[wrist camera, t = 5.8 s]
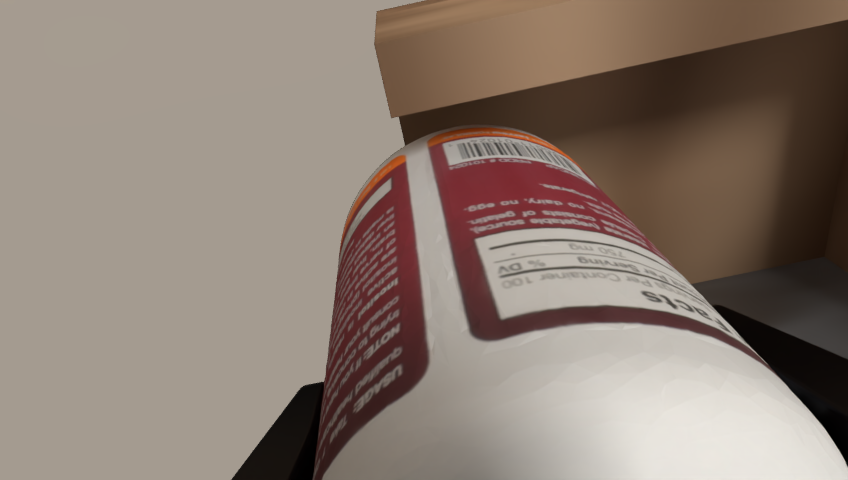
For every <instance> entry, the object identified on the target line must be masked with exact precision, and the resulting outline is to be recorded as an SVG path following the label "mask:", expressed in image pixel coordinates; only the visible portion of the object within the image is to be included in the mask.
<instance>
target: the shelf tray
mask: <svg viewBox="0 0 848 480" xmlns="http://www.w3.org/2000/svg"><path fill="white" fill-rule="evenodd" d="M374 45H375V49H376V53H377V58H378V62H379V66H380V71H381V75H382V80H383V84H384V88H385V93H386V97H387V101H388V106H389V110H390V114H391V118H394V117H399V119H400V124H401V129H402V133H403V138H404V142H405V146H406V145H408V144H410V143H412V142H414V141H415V140H417V139H419V138H422V137H424V136H426V135H429V134H431V133H434V132H437V131H441V130H444V129H448V128H453V127H457V126H464V125H497V126H505V127H510V128H514V129H518V130H522V131H525V132H527V133H530V134H533V135H535V136H537V137H539V138H541V139H543V140H545V141H547V142H549V143H550V144H552V145H553V146H555V147H557V148H558V149H559V150H561V151H562V152H563V153H565V154H566V155H568V156H569V157H570V158H571V159H572V160H573V161H575V162H576V163H577V164H578V165H579V166H580V167H581V168H582V169H583V170H584V171H585V172H586V173H587V175H588V176H589V177H590V178H591V179H592V180H593V181H594V182H595V183H596V184H597V185H598V187H599V188H600V189H601V190H602V191H603V192H604V193H605V194H606V195H607V196H608V197H609V198H610V199H611V200H612V201H613V202H614V203H615V204H616V205H617V206H618V207H619V208H620V209H621V210H622V212H623V213H624V214H625V215H626V216H627V217H628V218H629V219H630V220H631V221H632V223H633V224H634V225H635V226H636V227H637V228H638V229H639V230H640V231H641V232H642V233H643V234H644V235H645V236H646V237H647V239H648V240H649V241H650V242H651V243H652V244H653V245H654V246H655V247H656V248H657V249H658V250H659V251H660V252H661V253H662V254H663V255H664V256H665V257H666V258H667V259H668V261H669V262H670V263H671V264H672V265H673V266H674V267H675V268H676V269H677V270H678V271H679V272H680V273H681V274H682V275H683V276H684V278H685V279H686V280H687V281H688V282H689V283H690V284H691V285H692V286H693V287H694V288H695V290H696V291H698V292H699V293H700V294H701V295H702V296H703V297H704V299H705V300H706V301H707V302H708V303H709V304H710V305H713V304H719V305H722V306H725V307H727V308H730V309H732V310H734V311H737V312H739V313H741V314H744V315H746V316H748V317H751V318H753V319H755V320H758V321H760V322H762V323H765V324H767V325H769V326H772V327H774V328H776V329H779V330H781V331H783V332H786V333H788V334H790V335H793V336H795V337H797V338H800V339H802V340H804V341H807V342H809V343H811V344H814V345H816V346H818V347H821V348H823V349H825V350H828V351H830V352H832V353H835V354H837V355H839V356H842V357H844V358H846V359H848V0H426V1H421V2H416V3H413V4H407V5H403V6H398V7H394V8H390V9H385V10H380V11H377V15H376V30H375V43H374Z"/></svg>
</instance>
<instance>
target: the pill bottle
mask: <svg viewBox="0 0 848 480" xmlns="http://www.w3.org/2000/svg"><path fill="white" fill-rule="evenodd" d="M313 480H848V467H847V465H846V462H845V460H844V458H843V456H842V455H841V453H840V451H839V450H838V448H837V447H836V445H835V443H834V442H833V440H832V439H831V437H830V436H829V434H828V433H827V431H826V430H825V428H824V427H823V426H822V425H821V424H820V422H819V421H818V420H817V419H816V418H815V416H814V415H813V414H812V413H811V412H810V411H809V409H808V408H807V407H806V406H805V405H804V404H803V403H802V402H801V401H800V400H799V399H798V398H797V397H796V396H795V394H794V393H793V392H792V391H791V390H790V389H789V388H788V386H787V385H786V384H785V383H784V382H783V381H782V380H781V379H780V377H779V376H778V375H777V374H776V373H775V372H774V371H773V370H772V369H771V368H770V366H769V365H768V364H767V363H766V362H765V361H764V360H763V359H762V358H761V357H760V356H759V355H758V354H757V353H756V352H755V351H754V350H753V349H752V348H751V347H750V346H749V345H748V344H747V343H746V342H745V341H744V340H743V339H742V338H741V336H740V335H739V334H738V333H737V332H736V331H735V330H734V329H733V328H732V327H731V326H730V325H729V324H728V323H727V322H726V321H725V320H724V319H723V318H722V317H721V316H720V314H719V313H718V312H717V311H716V310H715V309H714V308H713V307H712V306H711V305H710V304H709V303H708V302H707V301H706V300H705V299H704V297H703V296H702V295H701V294H700V293H699V292H698V291H696V290H695V288H694V287H693V286H692V285H691V284H690V283H689V282H688V281H687V280H686V279H685V278H684V276H683V275H682V274H681V273H680V272H679V271H678V270H677V269H676V268H675V267H674V266H673V265H672V264H671V263H670V262H669V261H668V259H667V258H666V257H665V256H664V255H663V254H662V253H661V252H660V251H659V250H658V249H657V248H656V247H655V246H654V245H653V244H652V243H651V242H650V241H649V240H648V239H647V237H646V236H645V235H644V234H643V233H642V232H641V231H640V230H639V229H638V228H637V227H636V226H635V225H634V224H633V223H632V221H631V220H630V219H629V218H628V217H627V216H626V215H625V214H624V213H623V212H622V210H621V209H620V208H619V207H618V206H617V205H616V204H615V203H614V202H613V201H612V200H611V199H610V198H609V197H608V196H607V195H606V194H605V193H604V192H603V191H602V190H601V189H600V188H599V187H598V185H597V184H596V183H595V182H594V181H593V180H592V179H591V178H590V177H589V176H588V175H587V173H586V172H585V171H584V170H583V169H582V168H581V167H580V166H579V165H578V164H577V163H576V162H575V161H573V160H572V159H571V158H570V157H569V156H568V155H566V154H565V153H563V152H562V151H561V150H559V149H558V148H557V147H555V146H553V145H552V144H550V143H549V142H547V141H545V140H543V139H541V138H539V137H537V136H535V135H533V134H530V133H527V132H525V131H522V130H518V129H514V128H510V127H505V126H497V125H464V126H457V127H453V128H448V129H444V130H441V131H437V132H434V133H431V134H429V135H426V136H424V137H422V138H419V139H417V140H415V141H414V142H412V143H410V144H408V145H406V146H404V147H403V148H401V149H400V150H398V151H397V152H395V153H394V154H393V155H391V156H390V157H389V158H388V159H387V160H386V161H385V162H383V163H382V164H381V165H380V167H379V168H378V169H377V170H376V171H375V172H374V173H373V174H372V175H371V176H370V178H369V179H368V180H367V181H366V183H365V184H364V185H363V187H362V188H361V190H360V191H359V193H358V195H357V197H356V198H355V200H354V202H353V204H352V206H351V209H350V211H349V214H348V216H347V220H346V223H345V227H344V231H343V235H342V240H341V246H340V253H339V265H338V274H337V282H336V292H335V301H334V309H333V316H332V324H331V334H330V341H329V353H328V360H327V365H326V377H325V381H324V392H323V399H322V407H321V416H320V425H319V434H318V442H317V448H316V457H315V467H314V474H313Z"/></svg>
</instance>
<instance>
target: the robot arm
mask: <svg viewBox="0 0 848 480" xmlns="http://www.w3.org/2000/svg"><path fill="white" fill-rule="evenodd" d="M711 306H712V307H713V308H714V309H715V310H716V311H717V312H718V313H719V314H720V316H721V317H722V318H723V319H724V320H725V321H726V322H727V323H728V324H729V325H730V326H731V327H732V328H733V329H734V330H735V331H736V332H737V333H738V334H739V335H740V336H741V338H742V339H743V340H744V341H745V342H746V343H747V344H748V345H749V346H750V347H751V348H752V349H753V350H754V351H755V352H756V353H757V354H758V355H759V356H760V357H761V358H762V359H763V360H764V361H765V362H766V363H767V364H768V365H769V366H770V368H771V369H772V370H773V371H774V372H775V373H776V374H777V375H778V376H779V377H780V379H781V380H782V381H783V382H784V383H785V384H786V385H787V386H788V388H789V389H790V390H791V391H792V392H793V393H794V394H795V396H796V397H797V398H798V399H799V400H800V401H801V402H802V403H803V404H804V405H805V406H806V407H807V408H808V409H809V411H810V412H811V413H812V414H813V415H814V416H815V418H816V419H817V420H818V421H819V422H820V424H821V425H822V426H823V427H824V428H825V430H826V431H827V433H828V434H829V436H830V437H831V439H832V440H833V442H834V443H835V445H836V447H837V448H838V450H839V451H840V453H841V455H842V456H843V458H844V460H845V462H846V465H847V467H848V359H846V358H844V357H842V356H839V355H837V354H835V353H832V352H830V351H828V350H825V349H823V348H821V347H818V346H816V345H814V344H811V343H809V342H807V341H804V340H802V339H800V338H797V337H795V336H793V335H790V334H788V333H786V332H783V331H781V330H779V329H776V328H774V327H772V326H769V325H767V324H765V323H762V322H760V321H758V320H755V319H753V318H751V317H748V316H746V315H744V314H741V313H739V312H737V311H734V310H732V309H730V308H727V307H725V306H722V305H719V304H713V305H711ZM323 392H324V382H320V383H314V384H309V385H305V386H303V387H302V388H300V390H299V391H298V392H297V394H296V395H295V396H294V398H293V399H292V400H291V402H290V403H289V404H288V406H287V407H286V408H285V409H284V411H283V412H282V414H281V415H280V416H279V417H278V419H277V420H276V421H275V423H274V424H273V425H272V427H271V428H270V429H269V431H268V432H267V433H266V435H265V436H264V437H263V439H262V440H261V441H260V442H259V444H258V445H257V447H256V448H255V449H254V450H253V452H252V453H251V454H250V456H249V457H248V458H247V460H246V461H245V462H244V464H243V465H242V466H241V468H240V469H239V470H238V472H237V473H236V474H235V476H234V477H233V478H232V480H313V474H314V467H315V457H316V448H317V442H318V434H319V425H320V416H321V407H322V399H323Z"/></svg>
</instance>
